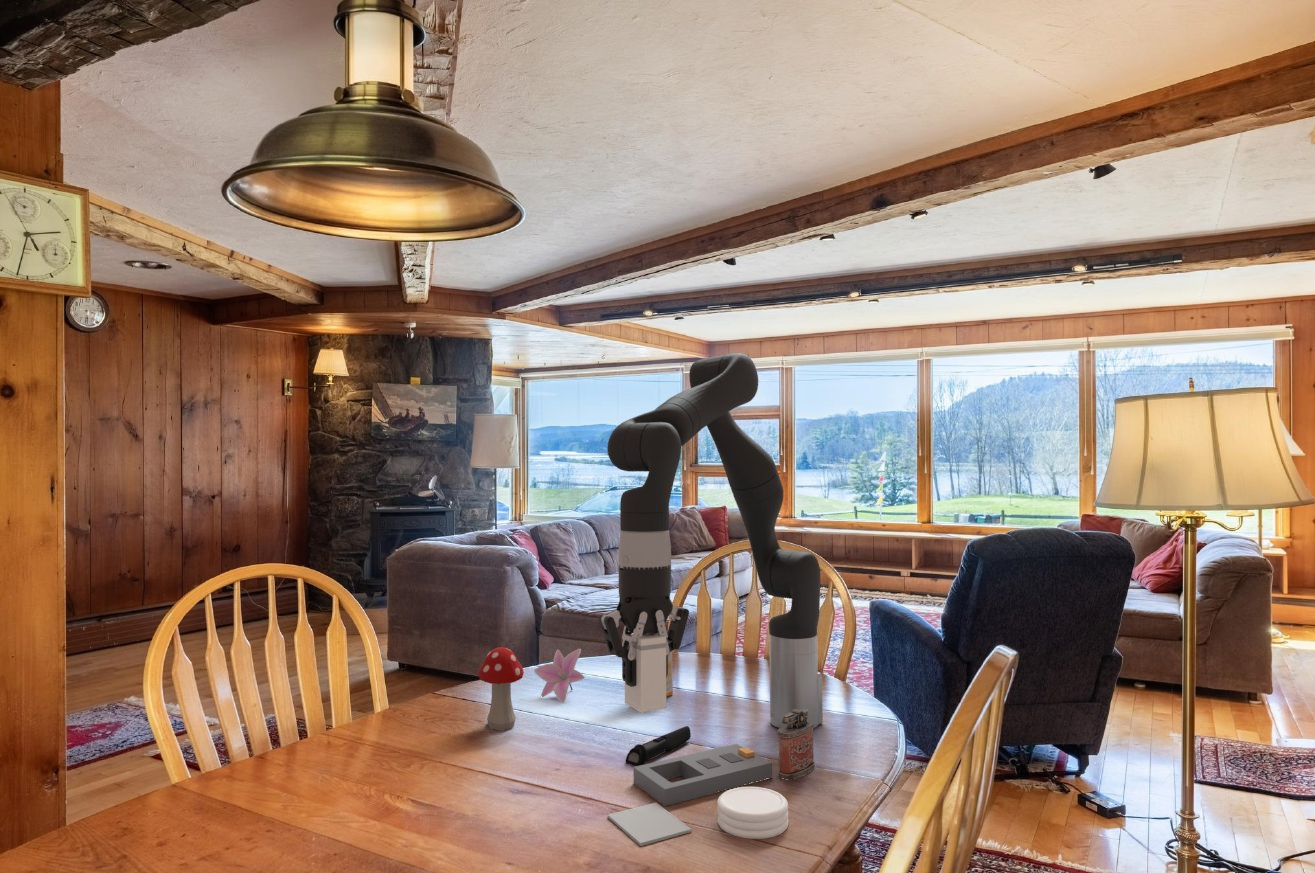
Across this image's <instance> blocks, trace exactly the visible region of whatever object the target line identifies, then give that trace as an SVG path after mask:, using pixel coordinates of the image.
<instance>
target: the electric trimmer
mask: <svg viewBox="0 0 1315 873" xmlns="http://www.w3.org/2000/svg"><path fill="white" fill-rule="evenodd" d="M691 736H692V734H691V728H690V726H687V725H686V726H682V727H680V728H678V729H676V730H673V731H671V732H668V733H665V734H662V735H660V736H659V737H655V738H653V739H652V740H650V741H647V742H645V743H642V744H640V743H638V744H636V745H634V746H633V747H632V748H631V749H630V750H629V751H628V753H627V755H626V757H625V763H626V764H627V765H630V766H633V767H636V766H640V765H645V764H646V762H648V761H649V760H652V759H655V757H658V756H660V755H662V754H664V753H672V752H673V751H675V750H676V749H678V748H680V747H681V746H682V745H684V744H685V743H687V742H688V741H690V740H691Z"/></svg>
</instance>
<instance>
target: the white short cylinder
mask: <svg viewBox="0 0 1315 873" xmlns="http://www.w3.org/2000/svg"><path fill="white" fill-rule="evenodd" d="M716 804H717V811H716V813H717V818H716V820H717V824H718V826H719V827H720V829H721V830H723V831H724V832H726V833H727V834H729V835H732V836H735V837H738V838H741V839H747V840H749V839H751V840H761V839H762V840H763V839H771V838H774V837H777V836H779V835H781V834H782V833H784V832H785V831H787V829H788V827H789V818H788V817H789V810H788V809H789V802H788V799H787V798H786V797H785V796H784V795H782V794H781V793H780V792H778V791H775V790H773V789H770V788H764V787H760V786H741V787H737V788H733V789H729V790H725V791H723V793H721V794H720V795H719V797H718V799H717V802H716Z"/></svg>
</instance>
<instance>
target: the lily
mask: <svg viewBox="0 0 1315 873" xmlns="http://www.w3.org/2000/svg"><path fill="white" fill-rule="evenodd" d="M581 652H582V648H577V649H575V650H573V651H571V652H570V653H568V654H567V655H566V656H564V654H563V653H562V652H561V650H560V649H556V651H555V653H554V656H553V661H552V663H547V664H543V665H541V666H538V667H536V668H535V669H534V670H533V672H534V674H535V675H536V676H538V677H539V678H540V679H542V681H545V682H546V683H545V684H544V687H543V689H542V692H541V695H540V697H541V696H542V697H543V698H544V697H546V696H548V695H549V694H551V693H552V692H553V693H554V695H555V697H556V698H557V699H558V701H559V702H560V703H561V702H562V703H563V704H564V703H565V701H566V698H567V694H568V689H569V687H570V691H572V690H573V691H574V689H573V687H572V684H573V683H575V682H576V683H577V682H580V681H582V680H585V675H583V674H582V673H581V672H580V671H578V670H576V669H575V667H576V664H577V662H578V660H579V657H580V655H581Z"/></svg>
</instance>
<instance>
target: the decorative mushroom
mask: <svg viewBox="0 0 1315 873" xmlns="http://www.w3.org/2000/svg"><path fill="white" fill-rule="evenodd" d="M524 673H525V672H524V667H523V666H522V664H521V663H520V661H519V659H518V658H517V655H516V654H515V653H514V652H513V651H512V650H511V649H509V648H507V647H502V646H501V647H496V648H494V649H491V650H490V651H489V652H488V654H487V655H486V656H485V659H484V661H483V662H482V664H481V666H480V667H479V670H478V677H479V680H481V681H482V682H484V683H487V684H491V701H490V707H489V713H488V715H487V719H486V720H487V723H488V727H489V728H490V729H491V730H494V729H495V730H496V731H506V730H511V729H512V728H514V726H515V722H516V719H517V718H516V714H515V711H514V709H513V707H514V706H513V703H512V689H511V686H512V685H511V684H513V683H515V682H517V681H520V680H521V679H523V676H524ZM495 730H494V731H495Z"/></svg>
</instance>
